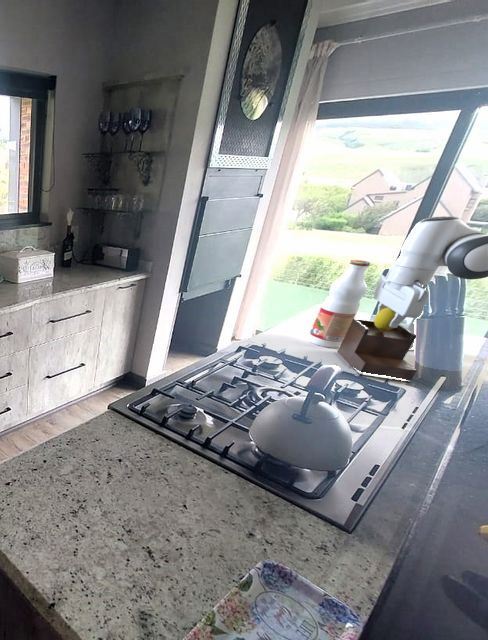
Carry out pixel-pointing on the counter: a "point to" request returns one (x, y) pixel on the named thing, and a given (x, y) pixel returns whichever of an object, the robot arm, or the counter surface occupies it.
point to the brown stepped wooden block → (378, 349)
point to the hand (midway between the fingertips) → (385, 322)
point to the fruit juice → (340, 306)
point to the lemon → (384, 319)
